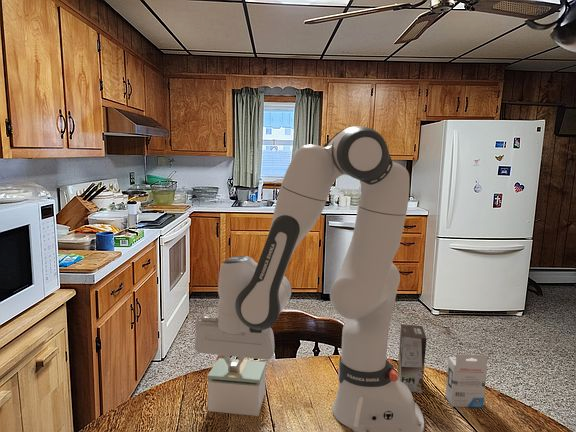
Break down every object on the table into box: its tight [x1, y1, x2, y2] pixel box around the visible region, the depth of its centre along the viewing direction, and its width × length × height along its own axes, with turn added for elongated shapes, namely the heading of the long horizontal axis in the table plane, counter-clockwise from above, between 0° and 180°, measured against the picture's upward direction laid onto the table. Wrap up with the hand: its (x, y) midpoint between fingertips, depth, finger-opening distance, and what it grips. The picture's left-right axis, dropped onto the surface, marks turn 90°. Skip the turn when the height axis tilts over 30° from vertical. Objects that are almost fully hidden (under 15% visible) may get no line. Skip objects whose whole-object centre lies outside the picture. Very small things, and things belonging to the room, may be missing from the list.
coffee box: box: [397, 324, 428, 394], centre depth 115 cm, size 9×6×16 cm
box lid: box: [206, 357, 267, 383], centre depth 104 cm, size 13×10×1 cm
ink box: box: [444, 354, 488, 408], centre depth 107 cm, size 8×5×15 cm, turn 89°
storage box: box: [207, 366, 267, 417], centre depth 105 cm, size 13×10×8 cm
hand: (234, 370), depth 103 cm, fingers closed, pressing on box lid
